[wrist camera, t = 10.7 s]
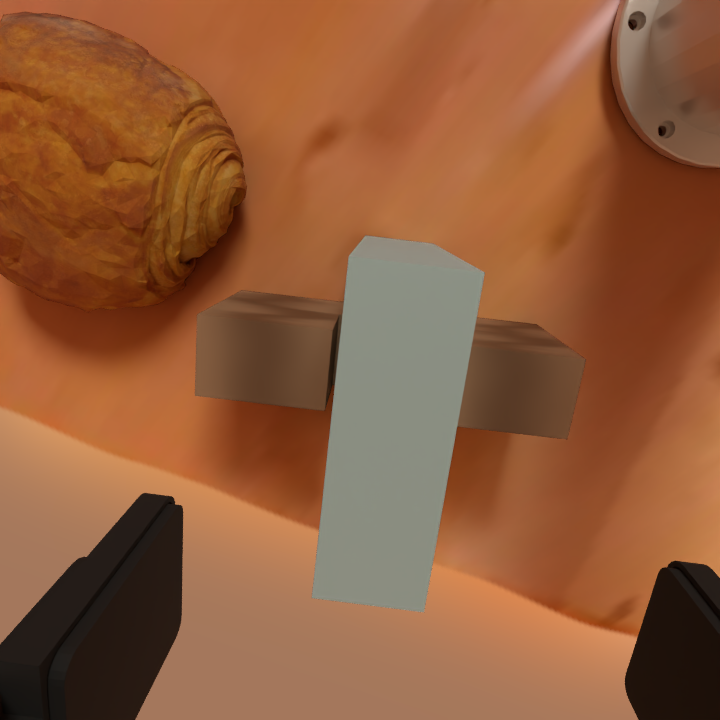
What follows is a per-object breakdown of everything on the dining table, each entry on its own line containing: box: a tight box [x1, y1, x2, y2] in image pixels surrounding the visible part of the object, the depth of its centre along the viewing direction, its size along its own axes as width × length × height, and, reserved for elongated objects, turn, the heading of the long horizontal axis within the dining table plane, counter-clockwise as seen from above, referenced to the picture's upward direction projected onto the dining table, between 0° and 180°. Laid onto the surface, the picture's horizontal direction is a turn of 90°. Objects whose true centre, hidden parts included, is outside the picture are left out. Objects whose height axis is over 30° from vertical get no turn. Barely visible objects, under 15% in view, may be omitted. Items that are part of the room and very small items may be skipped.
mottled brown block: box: [195, 290, 586, 439], centre depth 29 cm, size 18×4×8 cm, turn 84°
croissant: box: [0, 12, 247, 312], centre depth 28 cm, size 14×16×8 cm
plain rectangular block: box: [312, 236, 485, 612], centre depth 25 cm, size 12×4×16 cm, turn 173°
